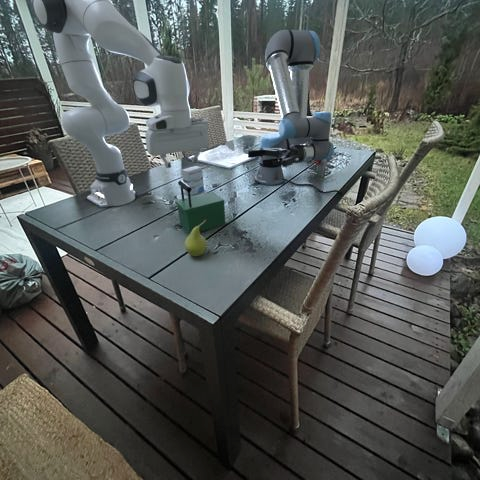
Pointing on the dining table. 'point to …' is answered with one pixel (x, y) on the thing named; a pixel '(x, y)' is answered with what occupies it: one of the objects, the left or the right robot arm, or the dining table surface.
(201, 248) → the fruit
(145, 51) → the left robot arm
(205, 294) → the dining table surface
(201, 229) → the chest
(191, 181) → the ink box
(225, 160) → the relief map
